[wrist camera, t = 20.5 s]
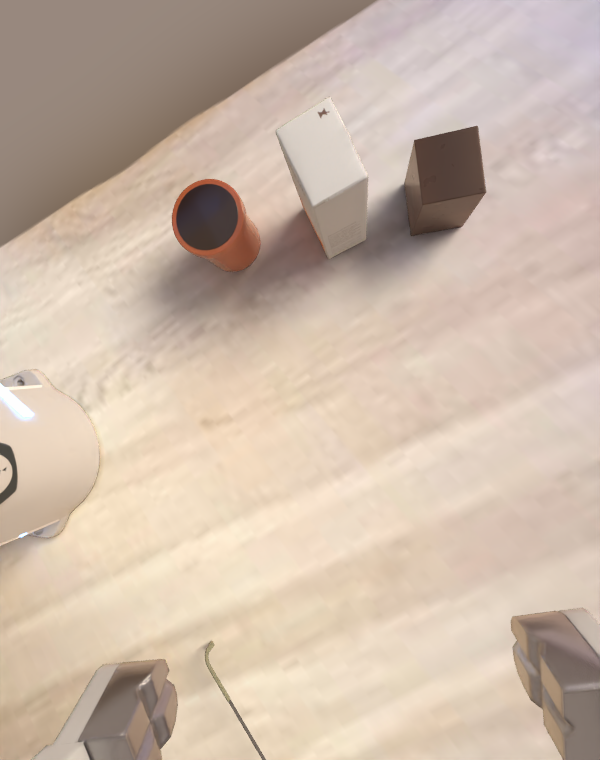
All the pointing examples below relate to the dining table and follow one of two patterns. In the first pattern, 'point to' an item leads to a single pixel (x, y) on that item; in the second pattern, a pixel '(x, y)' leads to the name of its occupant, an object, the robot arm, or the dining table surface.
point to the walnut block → (444, 180)
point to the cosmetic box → (327, 176)
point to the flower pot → (215, 225)
